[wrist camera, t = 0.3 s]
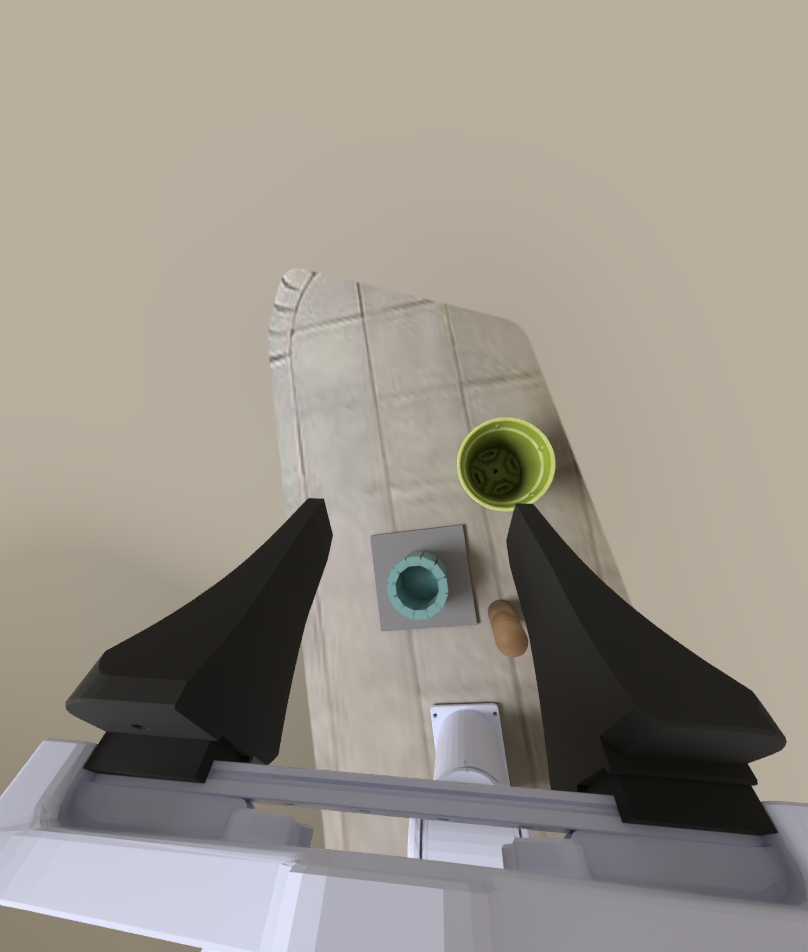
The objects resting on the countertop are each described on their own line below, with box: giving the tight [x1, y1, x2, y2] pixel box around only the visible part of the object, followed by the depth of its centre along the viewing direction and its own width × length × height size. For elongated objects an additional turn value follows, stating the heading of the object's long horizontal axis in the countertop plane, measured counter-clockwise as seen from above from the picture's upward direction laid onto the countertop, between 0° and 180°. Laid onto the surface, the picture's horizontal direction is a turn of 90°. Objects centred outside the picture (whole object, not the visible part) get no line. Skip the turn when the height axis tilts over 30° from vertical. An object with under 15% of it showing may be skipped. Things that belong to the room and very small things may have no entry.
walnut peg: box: [488, 600, 528, 657], centre depth 34 cm, size 3×3×8 cm
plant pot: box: [457, 417, 555, 511], centre depth 36 cm, size 9×9×9 cm
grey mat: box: [370, 525, 477, 631], centre depth 40 cm, size 12×12×1 cm
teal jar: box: [387, 551, 450, 620], centre depth 38 cm, size 7×7×5 cm
